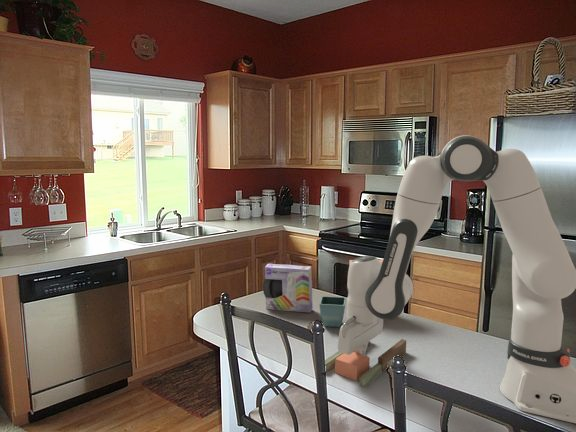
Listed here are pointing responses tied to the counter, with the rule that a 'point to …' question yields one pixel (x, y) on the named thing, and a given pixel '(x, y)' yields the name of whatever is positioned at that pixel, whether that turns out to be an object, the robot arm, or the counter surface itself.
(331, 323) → the flower pot
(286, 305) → the cake pan box
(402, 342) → the parallel rails
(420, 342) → the counter surface
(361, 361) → the orange block
